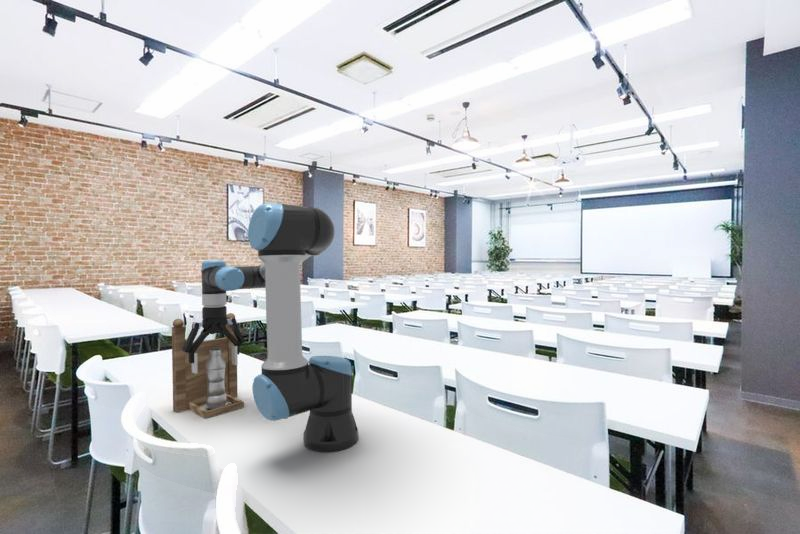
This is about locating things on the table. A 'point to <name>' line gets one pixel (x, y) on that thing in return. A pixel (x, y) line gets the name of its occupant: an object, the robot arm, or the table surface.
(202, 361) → the headboard holder
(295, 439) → the table surface
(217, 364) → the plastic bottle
